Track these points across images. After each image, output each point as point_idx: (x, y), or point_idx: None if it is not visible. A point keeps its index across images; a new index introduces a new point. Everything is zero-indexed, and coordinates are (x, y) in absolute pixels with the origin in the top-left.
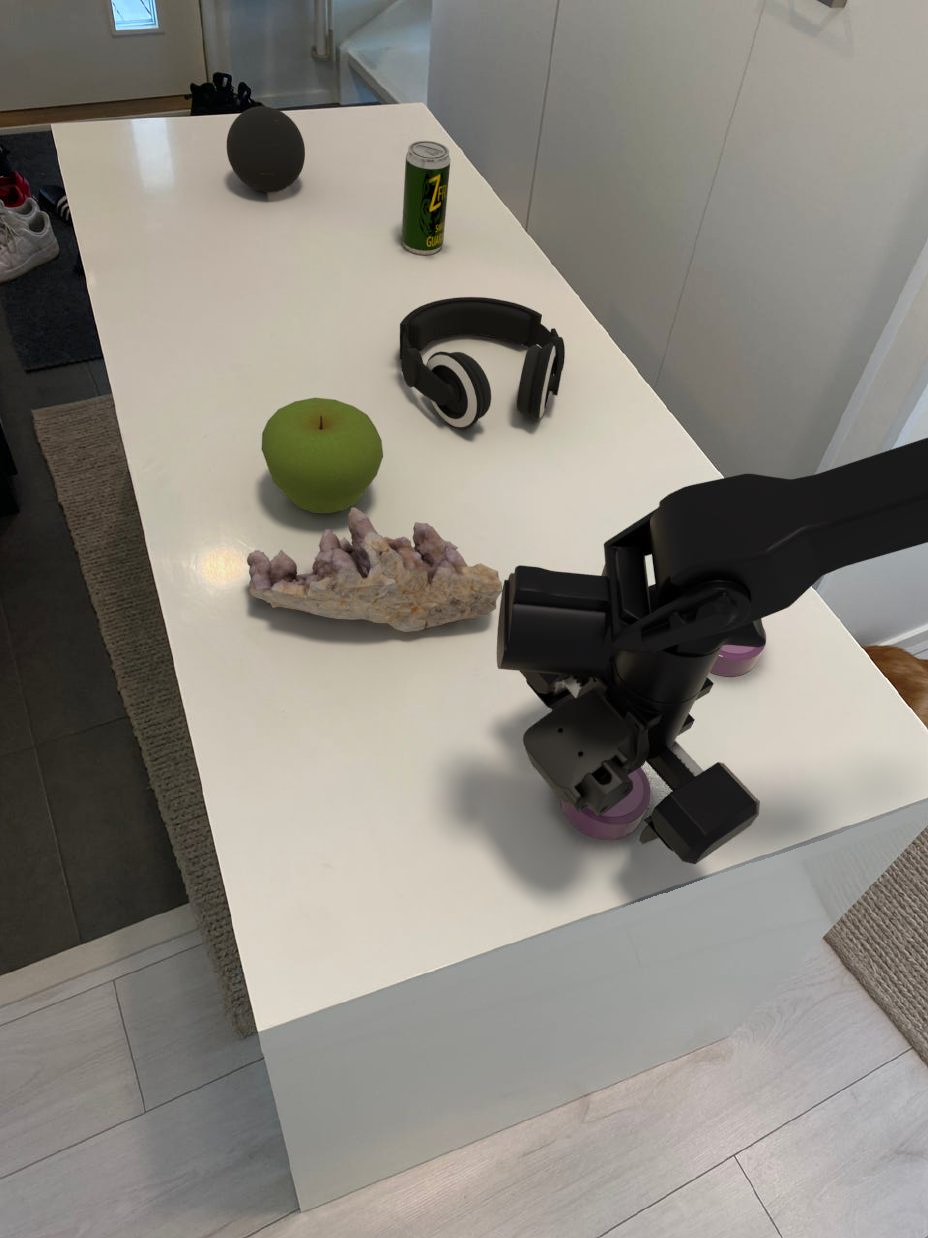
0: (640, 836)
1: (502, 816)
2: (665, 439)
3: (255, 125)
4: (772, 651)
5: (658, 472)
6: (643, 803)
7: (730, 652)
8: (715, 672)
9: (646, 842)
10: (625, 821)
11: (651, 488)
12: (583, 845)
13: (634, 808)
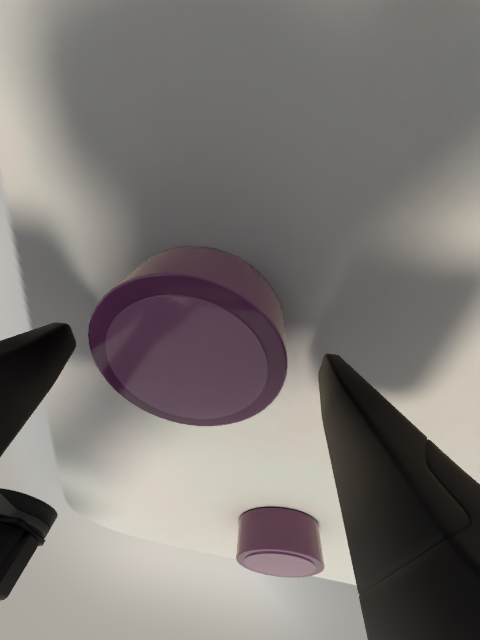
0: (42, 334)
1: (322, 92)
2: None
3: None
4: None
5: None
6: (118, 384)
7: (257, 554)
8: (259, 511)
9: (19, 334)
10: (92, 335)
11: None
12: (140, 231)
13: (113, 367)
